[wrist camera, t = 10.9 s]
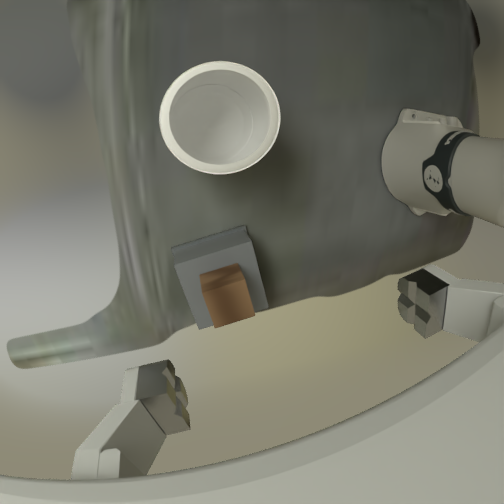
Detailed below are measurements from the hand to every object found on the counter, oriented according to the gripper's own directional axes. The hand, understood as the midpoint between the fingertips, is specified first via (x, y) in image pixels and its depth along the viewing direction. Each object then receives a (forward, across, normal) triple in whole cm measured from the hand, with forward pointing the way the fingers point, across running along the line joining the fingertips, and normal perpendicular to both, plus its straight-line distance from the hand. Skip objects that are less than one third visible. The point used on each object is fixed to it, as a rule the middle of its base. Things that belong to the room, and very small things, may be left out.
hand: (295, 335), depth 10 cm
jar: (+34, -2, -8) cm, 35 cm away
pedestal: (+34, +2, +12) cm, 36 cm away
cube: (+28, +2, +12) cm, 30 cm away
